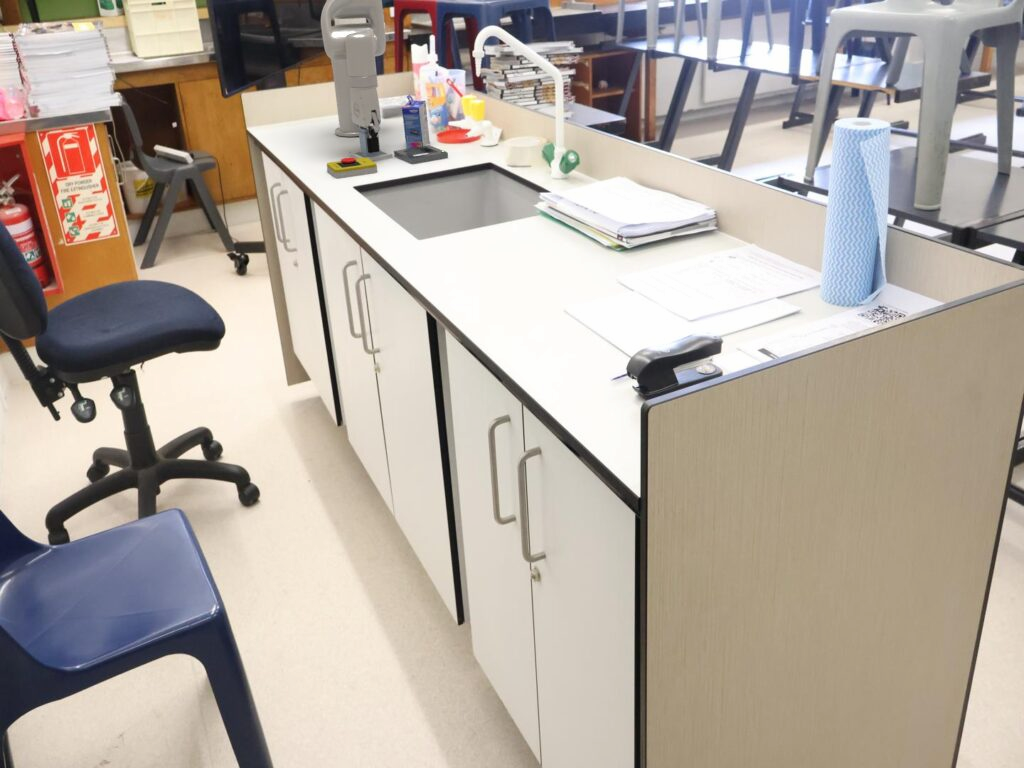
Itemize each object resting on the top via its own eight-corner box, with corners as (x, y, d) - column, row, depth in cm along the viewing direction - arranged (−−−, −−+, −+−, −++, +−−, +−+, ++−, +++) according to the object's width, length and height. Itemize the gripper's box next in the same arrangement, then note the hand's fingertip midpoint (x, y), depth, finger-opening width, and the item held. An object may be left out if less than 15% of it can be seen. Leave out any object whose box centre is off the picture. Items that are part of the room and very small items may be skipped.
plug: (361, 156, 253) (358, 127, 249) (374, 154, 255) (371, 125, 251) (367, 159, 250) (364, 130, 246) (380, 157, 252) (377, 128, 248)
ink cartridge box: (411, 142, 269) (407, 92, 262) (430, 142, 268) (426, 91, 262) (404, 150, 260) (400, 98, 253) (423, 150, 260) (420, 98, 253)
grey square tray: (349, 158, 254) (349, 152, 253) (379, 153, 258) (378, 148, 257) (362, 164, 247) (362, 159, 247) (392, 159, 251) (392, 154, 251)
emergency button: (319, 158, 238) (373, 151, 244) (321, 175, 240) (375, 167, 246) (329, 166, 231) (385, 158, 237) (331, 183, 233) (386, 175, 239)
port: (394, 158, 253) (393, 149, 251) (429, 152, 258) (429, 144, 256) (412, 166, 244) (411, 157, 243) (448, 159, 249) (447, 151, 248)
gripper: (338, 79, 248) (345, 147, 256) (363, 87, 235) (370, 158, 244) (363, 76, 251) (370, 143, 260) (389, 84, 238) (395, 154, 247)
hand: (370, 149), depth 252 cm, fingers closed on plug, 3 cm apart
